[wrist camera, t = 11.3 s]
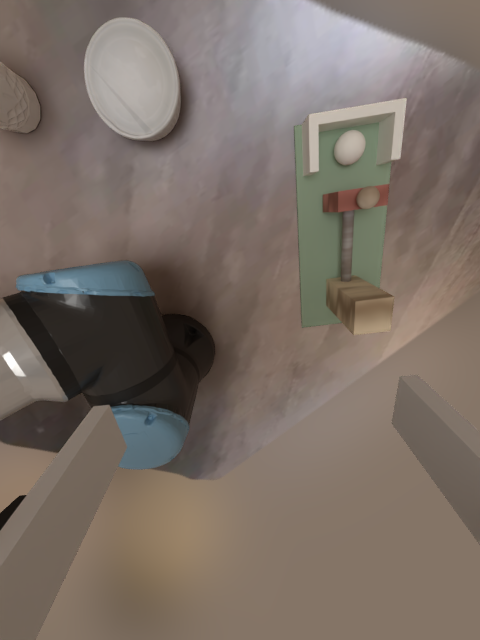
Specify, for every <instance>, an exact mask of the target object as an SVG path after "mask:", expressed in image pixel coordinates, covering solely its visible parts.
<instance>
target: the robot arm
mask: <svg viewBox="0 0 480 640" xmlns="http://www.w3.org/2000/svg"><path fill="white" fill-rule="evenodd" d="M16 282H17V285H16V288H17V289H18V290H19V291H20V290H21V292H20V293H17V294H14V295H10V296H7V297H4V298H0V420H2V419H4V418H6V417H7V416H9V415H11V414H13V413H15V412H17V411H18V410H20V409H22V408H24V407H26V406H28V405H29V404H31V403H33V402H35V401H40V400H48V401H58V402H66V401H68V400H70V399H71V398H73V397H75V396H76V395H78V394H80V393H83V394H84V396H85V398H86V399H87V401H88V403H89V404H90V406H91V408H92V409H91V410H90V412H89V413H88V414H87V416H86V417H85V418H84V420H83V421H82V422H81V424H80V425H79V426H78V428H77V429H76V430H75V432H74V433H73V434H72V436H71V437H70V438H69V440H68V441H67V442H66V444H65V445H64V446H63V448H62V449H61V450H60V452H59V453H58V454H57V456H56V457H55V458H54V460H53V461H52V462H51V464H50V465H49V466H48V468H47V469H46V470H45V472H44V473H43V474H42V476H41V477H40V478H39V480H38V481H37V482H36V484H35V485H34V486H33V488H32V489H31V490H30V492H29V493H28V494H27V495H22V496H19V497H18V498H16V499H15V500H14V501H13V502H12V503H11V504H10V505H9V506H8V507H7V508H5V509H4V510H3V511H2V512H1V513H0V640H36V638H37V636H38V633H39V631H40V629H41V627H42V625H43V623H44V621H45V619H46V617H47V614H48V613H49V611H50V608H51V606H52V604H53V602H54V600H55V598H56V596H57V593H58V592H59V589H60V587H61V585H62V583H63V581H64V579H65V577H66V575H67V573H68V571H69V568H70V566H71V564H72V562H73V560H74V558H75V556H76V554H77V552H78V549H79V547H80V545H81V543H82V541H83V539H84V537H85V535H86V533H87V531H88V528H89V526H90V524H91V522H92V520H93V518H94V516H95V514H96V512H97V509H98V507H99V505H100V503H101V501H102V499H103V497H104V495H105V493H106V491H107V489H108V486H109V484H110V482H111V480H112V478H113V476H114V474H115V471H116V470H117V467H121V468H126V469H150V468H155V467H159V466H161V465H164V464H166V463H168V462H169V461H171V460H172V459H174V458H175V456H176V455H177V454H178V453H179V452H180V450H181V449H182V446H183V444H184V441H185V438H186V436H187V434H188V431H189V423H190V419H191V414H192V410H193V406H194V402H195V397H196V393H197V389H198V384H199V382H200V381H201V380H202V379H203V378H204V377H205V376H206V375H207V373H208V372H209V371H210V369H211V367H212V364H213V360H214V355H215V346H214V342H213V339H212V337H211V335H210V333H209V332H208V331H207V329H206V328H205V327H204V326H203V325H202V324H200V323H199V322H197V321H196V320H194V319H192V318H190V317H187V316H183V315H177V314H170V315H163V316H161V313H160V310H159V308H158V305H157V302H156V299H155V297H154V296H155V293H154V292H153V291H152V290H151V288H150V286H149V283H148V281H147V279H146V276H145V274H144V272H143V270H142V269H141V267H140V266H139V265H137V264H136V263H134V262H132V261H115V262H107V263H100V264H93V265H86V266H79V267H72V268H65V269H58V270H52V271H46V272H40V273H34V274H27V275H21V276H19V277H18V278H17V279H16ZM392 424H393V426H394V427H395V429H396V430H397V431H398V433H399V434H400V436H401V437H402V438H403V440H404V441H405V442H406V444H407V445H408V447H409V448H410V449H411V451H412V452H413V454H414V455H415V456H416V458H417V459H418V460H419V462H420V463H421V465H422V466H423V467H424V469H425V470H426V471H427V473H428V474H429V475H430V477H431V478H432V480H433V481H434V482H435V484H436V485H437V486H438V488H439V489H440V491H441V492H442V493H443V495H444V496H445V498H446V499H447V500H448V502H449V503H450V504H451V506H452V507H453V509H454V510H455V511H456V513H457V514H458V515H459V517H460V518H461V520H462V521H463V522H464V524H465V525H466V527H467V528H468V529H469V530H470V532H471V533H472V535H473V536H474V538H475V539H476V540H477V542H478V543H479V545H480V431H479V430H478V429H476V428H475V427H474V426H473V425H472V424H471V423H470V422H469V421H468V420H467V419H465V418H464V417H463V416H462V415H461V414H460V413H459V412H458V411H457V410H456V409H454V408H453V407H452V406H451V405H450V404H449V403H448V402H447V401H446V400H444V399H443V398H442V397H441V396H440V395H439V394H438V393H437V392H436V391H435V390H434V389H432V388H431V387H430V386H429V385H428V384H427V383H426V382H425V381H423V379H421V378H420V377H419V376H418V375H411V376H401V377H399V383H398V389H397V395H396V401H395V406H394V412H393V418H392Z"/></svg>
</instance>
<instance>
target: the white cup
mask: <svg viewBox="0 0 480 640" xmlns="http://www.w3.org/2000/svg"><path fill="white" fill-rule="evenodd" d="M39 121H40V104H39V102H38V99H37V96H36V93H35V92H34V90H33V89H32V88H31V87H30V85H29V84H28V83H27V81H26V80H24V79H23V78H22V77H20V76H19V75H17V74H16V73H14V72H13V71H11V70H10V69H9V68H7V67H6V66H5V65H4V64H3V63H2V62H0V128H1V129H7V130H10V131H13V132H18V133H29V132H31V131H32V130H34V129H36V127H37V125H38V123H39Z"/></svg>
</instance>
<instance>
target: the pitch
mask: <svg viewBox="0 0 480 640" xmlns="http://www.w3.org/2000/svg"><path fill="white" fill-rule="evenodd" d="M350 130H357V131H359V132H361V133H362V134H363V136H364V138H365V142H366V145H365V150H364V153H363V154H362V156H361V157H360V159H359V160H358V161H356V162H355V163H353V164H351V165H342V164H340V163H338V162H337V160H336V159H335V156H334V147H335V144H336V142H337V140H338V139H339V137H340V136H341V135H342V134H344V133H345V132H347V131H350ZM378 131H379V122H378V123H372V124H366V125H360V126H354V127H348V128H342V129H336V130H329V131H323V132H319V171H318V172H316V173H314V174H312V175H309V176H303V156H302V125H297V126H294V138H295V163H296V189H297V215H298V241H299V267H300V293H301V319H302V328H303V327H311V326H320V325H328V324H336V323H342V322H341V321H340V320H339V319H338V318H337V317H336V315H335V314H334V313H333V312H332V311H331V310H330V309H329V308H328V307H327V306H326V279H330V278H338V277H341V253H342V219H343V212H323V195H324V194H328V193H333V192H338V191H344V190H351V189H358V188H364V187H367V186H378V185H384V184H389V180H390V170H391V162H389V163H386V164H381V165H376V159H377V145H378ZM386 212H387V205H385V206H378V207H372V208H370V209H358V210H354V229H353V251H352V272H351V276H353V275H356V276H358V277H359V278H361V279H363V280H365V281H367V282H369V283H370V284H372V285H374V286H376V287H378V288H379V287H380V276H381V265H382V255H383V244H384V234H385V223H386Z"/></svg>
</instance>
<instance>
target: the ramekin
mask: <svg viewBox="0 0 480 640" xmlns="http://www.w3.org/2000/svg"><path fill="white" fill-rule="evenodd" d="M84 77H85V84H86V88H87V92H88V95H89V98H90V100H91V102H92V104H93V106H94V108H95V110H96V112H97V113H98V115H99V116H100V118H101V119H102V120H103V121H104V122H105V123H106V124H107V125H108V126H109V127H110V128H111V129H112V130H113V131H115V132H116V133H118V134H119V135H121V136H123V137H126V138H128V139H131V140H137V141H156V140H159V139H161V138H163V137H165V136H166V135H168V134H169V132H171V130H172V129H173V128H174V126H175V124H176V123H177V120H178V118H179V114H180V107H181V94H180V79H179V73H178V69H177V66H176V63H175V60H174V57H173V55H172V53H171V51H170V49H169V48H168V46H167V44H166V43H165V41H164V40H163V39H162V37H161V36H160V35H159V34H158V33H157V32H156V31H155V30H154V29H153V28H151V27H150V26H149V25H147V24H146V23H143V22H141V21H140V20H137V19H134V18H115V19H112V20H110V21H108V22H106V23H105V24H103V25H102V26H101V27H99V29H98V30H97V31H96V32H95V33H94V35H93V36H92V38H91V40H90V42H89V45H88V47H87V50H86V53H85V60H84Z"/></svg>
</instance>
